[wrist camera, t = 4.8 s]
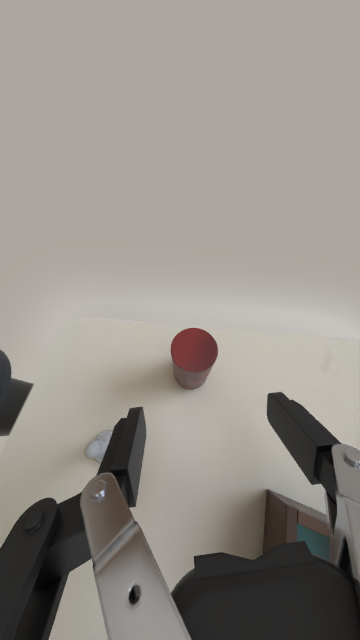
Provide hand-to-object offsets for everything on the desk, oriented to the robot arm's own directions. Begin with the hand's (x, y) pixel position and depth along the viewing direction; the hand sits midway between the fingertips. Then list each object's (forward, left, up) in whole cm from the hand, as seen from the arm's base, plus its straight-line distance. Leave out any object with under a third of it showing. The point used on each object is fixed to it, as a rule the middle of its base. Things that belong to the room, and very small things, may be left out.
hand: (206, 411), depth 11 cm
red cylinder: (-2, +4, -9) cm, 11 cm away
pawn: (-8, -6, -10) cm, 14 cm away
